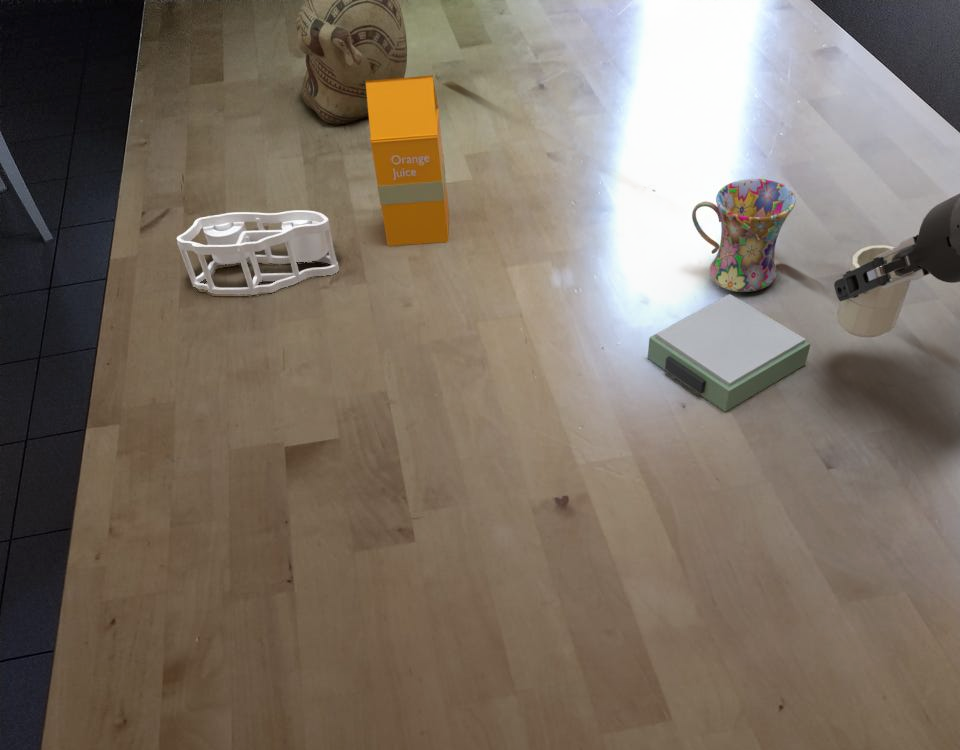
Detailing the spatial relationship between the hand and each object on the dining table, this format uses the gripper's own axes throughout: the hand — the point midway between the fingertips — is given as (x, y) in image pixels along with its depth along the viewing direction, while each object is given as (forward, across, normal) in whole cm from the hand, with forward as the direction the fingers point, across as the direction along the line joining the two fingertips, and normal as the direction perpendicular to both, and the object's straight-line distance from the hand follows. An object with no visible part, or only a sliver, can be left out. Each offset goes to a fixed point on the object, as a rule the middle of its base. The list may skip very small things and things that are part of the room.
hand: (865, 280), depth 97 cm
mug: (+22, +1, -7) cm, 23 cm away
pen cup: (+2, 0, +4) cm, 5 cm away
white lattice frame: (+46, +54, -32) cm, 78 cm away
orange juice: (+45, +31, -31) cm, 63 cm away
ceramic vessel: (+76, +23, -61) cm, 100 cm away
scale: (+12, +12, +2) cm, 17 cm away
